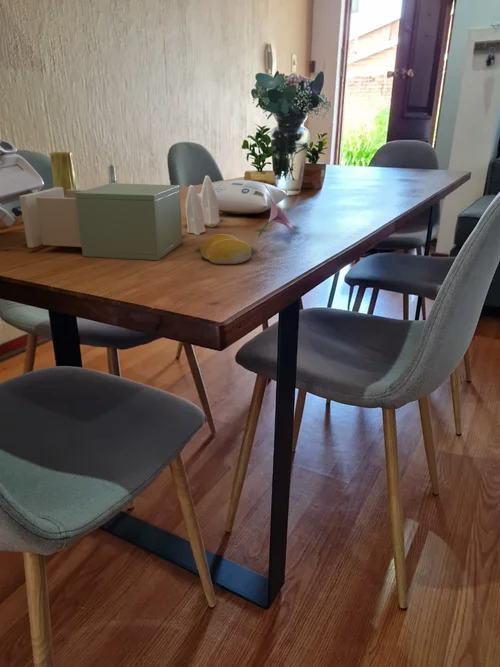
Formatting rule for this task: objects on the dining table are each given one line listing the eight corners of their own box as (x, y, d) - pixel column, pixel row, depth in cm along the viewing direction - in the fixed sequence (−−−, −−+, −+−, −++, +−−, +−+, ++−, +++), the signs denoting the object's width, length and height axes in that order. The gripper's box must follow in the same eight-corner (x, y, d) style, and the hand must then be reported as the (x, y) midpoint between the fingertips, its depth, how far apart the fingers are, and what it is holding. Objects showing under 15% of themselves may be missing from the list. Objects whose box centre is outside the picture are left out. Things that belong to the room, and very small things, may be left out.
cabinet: (82, 256, 88) (74, 192, 84) (115, 239, 101) (110, 183, 97) (158, 260, 86) (153, 195, 82) (182, 242, 99) (179, 185, 94)
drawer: (5, 246, 91) (-4, 195, 88) (44, 232, 102) (37, 186, 99) (93, 250, 88) (87, 198, 85) (122, 235, 100) (118, 189, 96)
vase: (66, 214, 127) (58, 153, 122) (50, 211, 130) (42, 152, 125) (85, 210, 132) (78, 152, 126) (70, 208, 135) (62, 151, 129)
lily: (280, 251, 97) (306, 205, 95) (231, 221, 100) (254, 177, 98) (295, 256, 108) (318, 216, 106) (250, 229, 111) (272, 190, 109)
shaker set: (208, 223, 117) (207, 173, 112) (224, 225, 115) (224, 174, 111) (181, 233, 106) (178, 178, 102) (198, 235, 105) (196, 179, 101)
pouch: (266, 187, 116) (288, 175, 134) (190, 186, 122) (220, 175, 139) (267, 222, 120) (288, 206, 137) (193, 219, 125) (222, 204, 143)
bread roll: (219, 268, 82) (218, 243, 80) (194, 256, 89) (193, 233, 87) (261, 261, 86) (262, 237, 85) (235, 250, 93) (234, 228, 92)
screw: (131, 223, 116) (122, 227, 112) (111, 222, 117) (102, 226, 113) (126, 163, 111) (116, 165, 107) (105, 163, 112) (95, 165, 108)
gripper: (-61, 152, 82) (3, 218, 84) (17, 142, 100) (67, 197, 103) (-79, 178, 84) (-16, 242, 87) (0, 164, 103) (50, 217, 105)
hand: (30, 217), depth 95 cm, fingers open, 8 cm apart
